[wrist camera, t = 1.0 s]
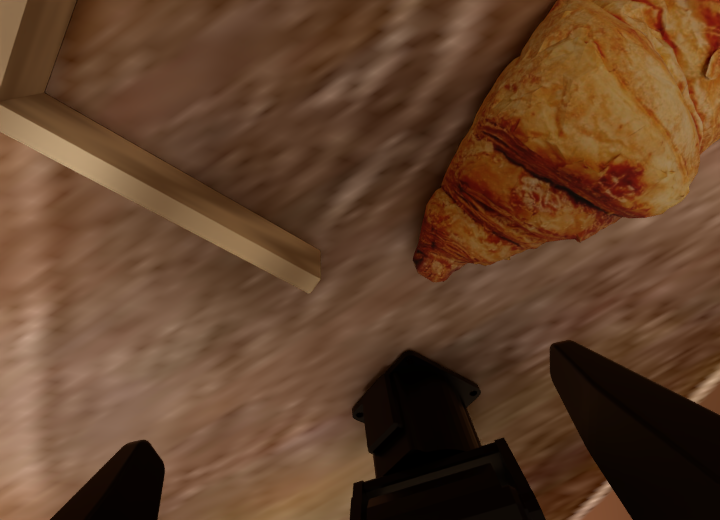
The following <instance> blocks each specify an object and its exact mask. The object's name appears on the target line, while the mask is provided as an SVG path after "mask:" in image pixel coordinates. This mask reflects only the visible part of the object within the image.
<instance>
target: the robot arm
mask: <svg viewBox="0 0 720 520" xmlns="http://www.w3.org/2000/svg"><path fill="white" fill-rule="evenodd" d="M409 358H412V359H411V360H407V359H409ZM550 374H551V378H552V381H553V383H554V385H555V387H556V389H557V391H558V393H559V395H560V397H561V399H562V401H563V403H564V405H565V407H566V409H567V411H568V413H569V415H570V417H571V419H572V421H573V423H574V425H575V427H576V428H577V430H578V432H579V434H580V436H581V438H582V440H583V442H584V444H585V446H586V448H587V449H588V451H589V453H590V454H591V456H592V458H593V459H594V461H595V462H596V464H597V465H598V467H599V468H600V470H601V472H602V473H603V475H604V476H605V478H606V479H607V481H608V482H609V484H610V485H611V487H612V488H613V490H614V492H615V493H616V495H617V496H618V498H619V499H620V501H621V502H622V504H623V505H624V507H625V508H626V510H627V512H628V513H629V514H630V516H631V518H632V519H633V520H720V415H718V414H717V413H715V412H713V411H711V410H709V409H707V408H705V407H703V406H701V405H699V404H697V403H695V402H693V401H691V400H689V399H687V398H685V397H683V396H681V395H679V394H677V393H675V392H673V391H671V390H669V389H667V388H665V387H663V386H661V385H659V384H657V383H655V382H653V381H651V380H649V379H647V378H645V377H643V376H641V375H640V374H638V373H636V372H634V371H632V370H630V369H628V368H626V367H624V366H622V365H620V364H618V363H616V362H614V361H612V360H610V359H608V358H606V357H604V356H602V355H600V354H598V353H596V352H594V351H592V350H590V349H588V348H586V347H584V346H582V345H580V344H578V343H576V342H574V341H571V340H566V341H561V342H557V343H553V344H552V345H551V346H550ZM471 391H472V392H471ZM480 393H481V391H480V389H479V387H478V385H477V384H475V383H473V382H471V381H469V380H467V379H465V378H463V377H462V376H460V375H458V374H456V373H454V372H452V371H450V370H448V369H446V368H444V367H442V366H440V365H438V364H437V363H435V362H433V361H431V360H429V359H427V358H425V357H423V356H421V355H419V354H417V353H415V352H413V351H407V352H405V353H403V354H402V355H401V357H400V358H399V359H398V360H397V361H396V362H395V363H394V364H393V365H392V366H391V367H390V368H389V370H388V371H387V372H386V373H385V374H383V375H382V376H381V377H380V378H379V379H378V380H377V382H376V383H375V384H374V385H373V386H372V387H371V388H370V389H369V390H368V391H367V392H366V393H365V395H364V396H363V397H362V399H361V400H360V401H359V402H358V403H357V404H356V405H355V406H354V408H353V409H352V415H353V418H354V419H356V420H358V421H360V422H363V423H365V430H366V438H367V447H368V451H369V453H371V454H373V458H374V466H375V474H376V478H375V479H372V480H369V481H365V482H364V481H359V482H356V483H354V484H353V497H352V498H351V509H350V520H546V519H545V517H544V515H543V512H542V510H541V508H540V506H539V504H538V502H537V499H536V497H535V495H534V493H533V492H532V490H531V488H530V486H529V484H528V482H527V480H526V478H525V476H524V475H523V473H522V471H521V469H520V467H519V465H518V463H517V461H516V459H515V458H514V456H513V454H512V452H511V450H510V448H509V446H508V444H507V442H506V441H505V439H504V438H501V439H497V440H494V441H495V442H494V443H490V444H487V445H484V446H481V443H480V441H479V438H478V436H477V433H476V431H475V428H474V426H473V423H472V421H471V418H470V416H469V413H468V411H467V407H468V406H469V405H470V404H471V403H472V402H473V401H474V400H475V399H476V398H477V397H478V396H479V395H480ZM359 412H361V413H359ZM164 474H165V468H164V463H163V461H162V460H161V458H160V457H159V455H158V454H157V453H156V451H155V450H154V448H153V447H152V446H151V444H150V443H149V442H148V441H146V440H139V441H135V442H130V443H127V444H126V445H124V446H123V447H122V448H121V449H120V450H119V451H118V452H117V453H116V454H115V455H114V456H113V457H112V458H111V459H110V460H109V461H108V462H107V463H106V464H105V465H104V466H103V467H102V468H101V469H100V470H99V471H98V472H97V473H96V474H95V475H94V476H93V477H92V478H91V479H90V480H89V481H88V482H87V483H86V484H85V485H84V486H83V487H82V488H81V489H80V490H79V491H78V492H77V493H76V494H75V495H74V496H73V497H72V498H71V499H70V500H69V501H68V502H67V503H66V504H65V505H64V506H63V507H62V508H61V509H60V510H59V511H58V512H57V513H56V514H55V515H54V516H53V517H52V518H51V519H50V520H157V519H158V513H159V507H160V500H161V494H162V487H163V481H164Z"/></svg>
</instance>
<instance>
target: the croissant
mask: <svg viewBox="0 0 720 520" xmlns="http://www.w3.org/2000/svg"><path fill="white" fill-rule="evenodd" d="M719 138H720V0H557V1H556V2H555V4H554V5H553V7H552V8H551V10H550V12H549V13H548V15H547V16H546V18H545V19H544V20H543V21H542V22H541V23H540V24H539V26H538V27H537V28H536V30H535V31H534V32H533V34H532V36H531V37H530V39H529V40H528V42H527V43H526V45H525V46H524V48H523V49H522V52H521V55H520V57H518V58H515V59H514V60H513V61H512V62H511V63H510V64H508V65H507V67H506V68H505V69H504V70H503V72H502V73H501V74H500V76H499V77H498V78H497V80H496V82H495V84H494V86H493V87H492V89H491V90H490V92H489V93H488V95H487V96H486V98H485V99H484V101H483V103H482V105H481V107H480V108H479V110H478V112H477V114H476V116H475V119H474V122H473V124H472V126H471V128H470V130H469V132H468V133H467V135H466V136H465V137H464V139H463V140H462V142H461V143H460V145H459V147H458V150H457V152H456V154H455V156H454V157H453V159H452V161H451V163H450V165H449V167H448V169H447V171H446V173H445V175H444V178H443V181H442V184H441V188H439V189H438V190H436V191H435V192H434V194H433V195H432V197H431V199H430V200H429V202H428V203H427V205H426V209H425V215H424V218H423V222H422V227H421V232H420V237H419V242H418V246H417V248H416V251H415V253H414V257H413V261H414V264H415V267H416V269H417V271H418V273H419V274H420V275H422V276H424V277H425V278H427V279H429V280H430V281H432V282H441V281H443V282H444V281H445V280H446V279H448V277H449V276H450V275H451V274H452V273H453V272H454V271H456V270H459V269H460V268H461V267H462V266H463V265H465V264H467V263H473V264H481V265H484V266H486V265H491V264H493V263H495V262H497V261H500V260H503V259H505V260H510V256H513V255H515V254H518V253H521V252H523V251H525V250H527V249H536V248H538V247H539V246H540V245H542V244H543V243H545V242H549V241H557V240H565V239H575V240H576V241H577V242H581V241H583V240H585V239H587V238H589V237H591V236H592V235H594V234H596V233H597V232H598V231H599V230H601V229H604V228H606V227H607V226H608V225H610V224H613V223H615V222H616V221H617V220H619V219H620V218H622V217H627V218H646V217H650V216H655V215H659V214H663V213H664V212H665V211H666V210H667V209H668V208H670V207H673V206H675V205H676V204H678V203H679V202H681V201H682V200H683V199H684V198H685V196H686V195H687V194H688V193H689V185H690V183H691V182H692V181H693V179H694V177H695V176H696V174H697V173H698V167H699V163H700V156H699V155H700V154H701V153H702V152H703V151H705V150H706V149H707V148H708V147H709V146H710V145H711V144H713V143H714V142H715V141H717V140H718V139H719Z"/></svg>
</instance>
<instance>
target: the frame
mask: <svg viewBox="0 0 720 520" xmlns="http://www.w3.org/2000/svg"><path fill="white" fill-rule="evenodd" d="M76 1H77V0H0V132H1V133H3V134H5V135H7V136H9V137H11V138H13V139H15V140H16V141H18V142H20V143H22V144H24V145H26V146H28V147H30V148H32V149H34V150H36V151H37V152H39V153H41V154H43V155H45V156H47V157H49V158H51V159H53V160H55V161H57V162H58V163H60V164H62V165H64V166H66V167H68V168H70V169H72V170H74V171H76V172H78V173H79V174H81V175H83V176H85V177H87V178H89V179H91V180H93V181H95V182H97V183H99V184H100V185H102V186H104V187H106V188H108V189H110V190H112V191H114V192H116V193H118V194H119V195H121V196H123V197H125V198H127V199H129V200H131V201H133V202H135V203H137V204H139V205H140V206H142V207H144V208H146V209H148V210H150V211H152V212H154V213H156V214H158V215H160V216H161V217H163V218H165V219H167V220H169V221H171V222H173V223H175V224H177V225H179V226H181V227H182V228H184V229H186V230H188V231H190V232H192V233H194V234H196V235H198V236H200V237H202V238H203V239H205V240H207V241H209V242H211V243H213V244H215V245H217V246H219V247H221V248H223V249H224V250H226V251H228V252H230V253H232V254H234V255H236V256H238V257H240V258H242V259H244V260H245V261H247V262H249V263H251V264H253V265H255V266H257V267H259V268H261V269H263V270H264V271H266V272H268V273H270V274H272V275H274V276H276V277H278V278H280V279H282V280H284V281H285V282H287V283H289V284H291V285H293V286H295V287H297V288H299V289H301V290H303V291H305V292H306V293H308V294H310V293H311V292H312V290H313V289H314V288H315V286H316V285H317V283H318V282H319V281H320V279H321V251H320V250H318V249H317V248H315V247H313V246H311V245H310V244H308V243H306V242H304V241H303V240H301V239H299V238H297V237H296V236H294V235H292V234H290V233H289V232H287V231H285V230H283V229H282V228H280V227H278V226H276V225H275V224H273V223H271V222H269V221H268V220H266V219H264V218H262V217H261V216H259V215H257V214H255V213H254V212H252V211H250V210H248V209H247V208H245V207H243V206H241V205H240V204H238V203H236V202H234V201H233V200H231V199H229V198H227V197H226V196H224V195H222V194H220V193H219V192H217V191H215V190H213V189H212V188H210V187H208V186H206V185H205V184H203V183H201V182H199V181H198V180H196V179H194V178H192V177H191V176H189V175H187V174H185V173H184V172H182V171H180V170H178V169H177V168H175V167H173V166H171V165H170V164H168V163H166V162H164V161H163V160H161V159H159V158H157V157H156V156H154V155H152V154H150V153H149V152H147V151H145V150H143V149H142V148H140V147H138V146H136V145H135V144H133V143H131V142H129V141H128V140H126V139H124V138H122V137H121V136H119V135H117V134H115V133H114V132H112V131H110V130H108V129H107V128H105V127H103V126H101V125H100V124H98V123H96V122H94V121H93V120H91V119H89V118H87V117H86V116H84V115H82V114H80V113H79V112H77V111H75V110H73V109H72V108H70V107H68V106H66V105H65V104H63V103H61V102H59V101H58V100H56V99H54V98H52V97H51V96H49V95H47V94H45V93H44V92H45V89H46V86H47V83H48V80H49V77H50V75H51V72H52V69H53V66H54V63H55V60H56V58H57V55H58V52H59V49H60V46H61V44H62V41H63V38H64V35H65V32H66V29H67V27H68V24H69V21H70V18H71V15H72V12H73V10H74V7H75V4H76Z"/></svg>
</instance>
